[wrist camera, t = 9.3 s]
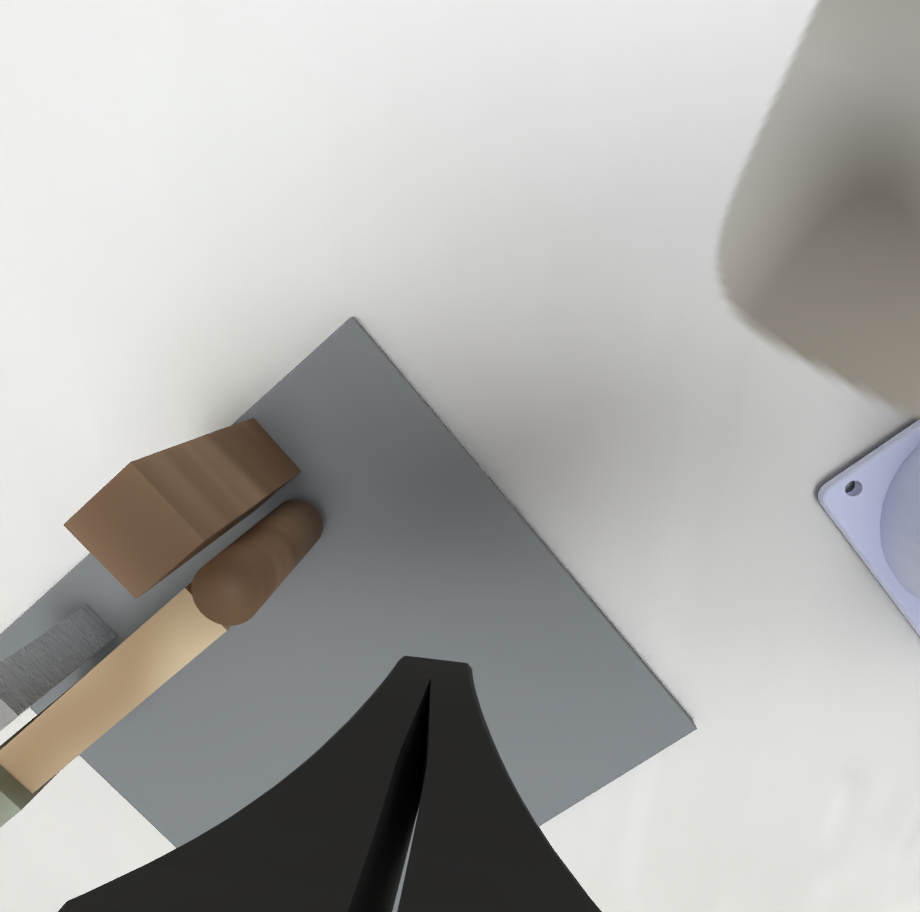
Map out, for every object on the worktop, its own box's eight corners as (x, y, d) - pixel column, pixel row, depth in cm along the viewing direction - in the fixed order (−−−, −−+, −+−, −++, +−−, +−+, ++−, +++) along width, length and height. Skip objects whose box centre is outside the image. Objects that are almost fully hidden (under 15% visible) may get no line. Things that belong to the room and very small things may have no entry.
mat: (353, 317, 19) (350, 317, 18) (693, 721, 21) (696, 728, 21) (-15, 650, 23) (-24, 656, 22) (308, 960, 25) (304, 971, 24)
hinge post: (258, 415, 20) (130, 462, 13) (305, 468, 20) (204, 540, 13) (211, 458, 20) (63, 524, 13) (257, 509, 20) (136, 599, 14)
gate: (333, 528, 19) (275, 598, 14) (104, 721, 22) (-15, 840, 17) (297, 489, 19) (224, 546, 14) (70, 688, 22) (-62, 798, 16)
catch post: (95, 598, 22) (-23, 677, 17) (125, 629, 22) (17, 715, 17) (68, 622, 22) (-55, 705, 17) (98, 652, 22) (-15, 743, 17)
